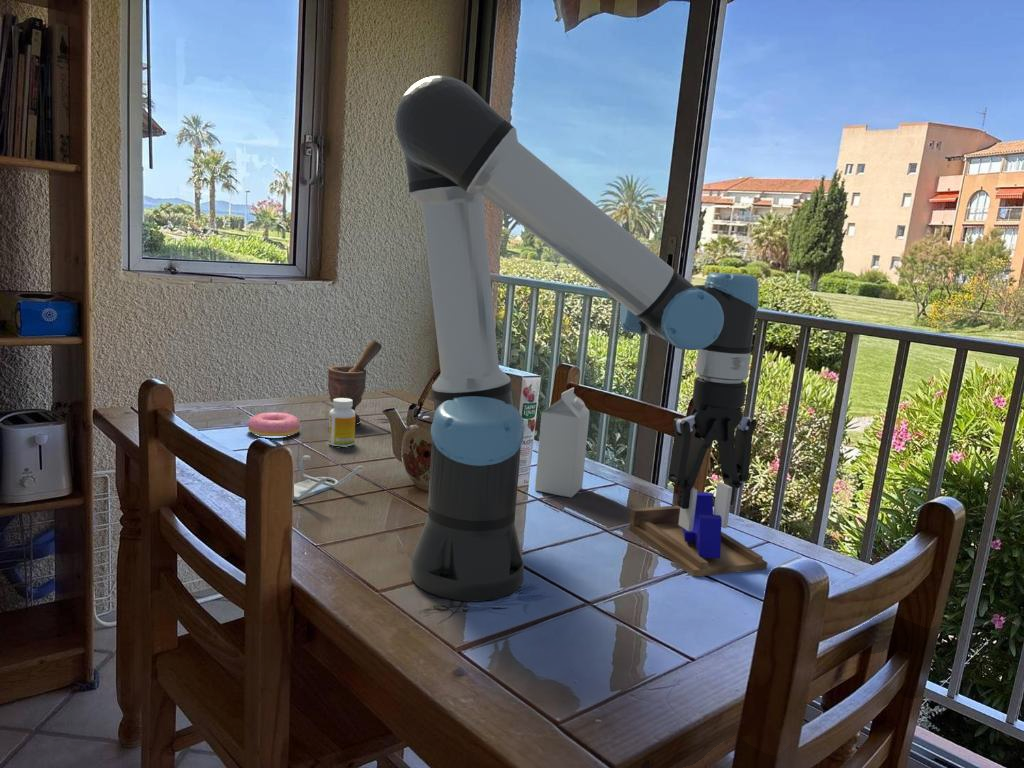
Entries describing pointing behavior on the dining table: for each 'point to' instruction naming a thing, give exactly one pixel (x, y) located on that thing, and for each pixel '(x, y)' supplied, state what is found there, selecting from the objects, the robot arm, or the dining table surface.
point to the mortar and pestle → (351, 378)
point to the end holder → (690, 544)
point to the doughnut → (274, 424)
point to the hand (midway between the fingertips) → (702, 525)
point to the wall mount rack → (316, 483)
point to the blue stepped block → (705, 528)
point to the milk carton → (562, 446)
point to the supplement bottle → (342, 423)
